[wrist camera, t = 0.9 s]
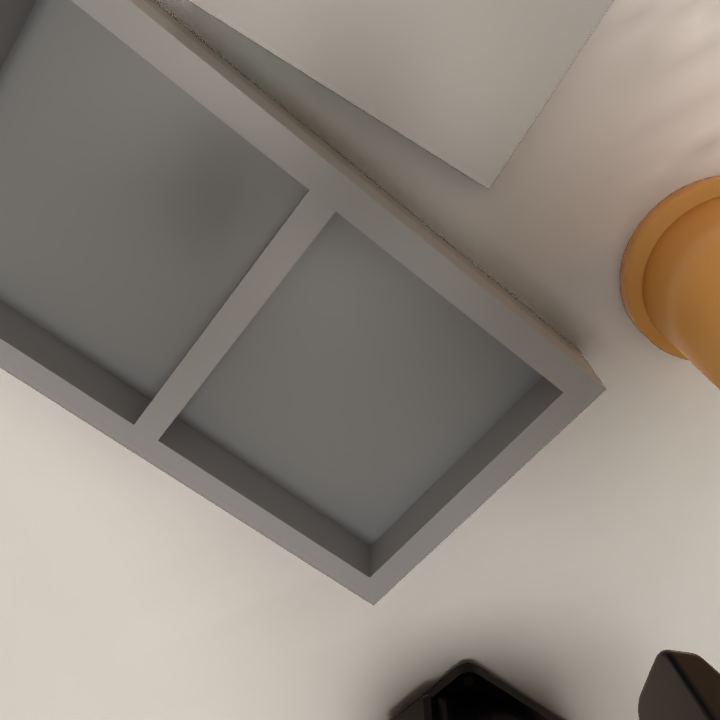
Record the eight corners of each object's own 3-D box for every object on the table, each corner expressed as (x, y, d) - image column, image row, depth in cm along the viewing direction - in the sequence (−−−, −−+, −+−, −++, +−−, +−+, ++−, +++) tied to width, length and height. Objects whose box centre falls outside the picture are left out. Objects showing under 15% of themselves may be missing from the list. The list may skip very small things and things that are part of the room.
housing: (581, 352, 20) (606, 388, 18) (374, 553, 23) (373, 605, 21) (56, -79, 16) (2, -103, 14) (-102, 238, 19) (-167, 260, 17)
